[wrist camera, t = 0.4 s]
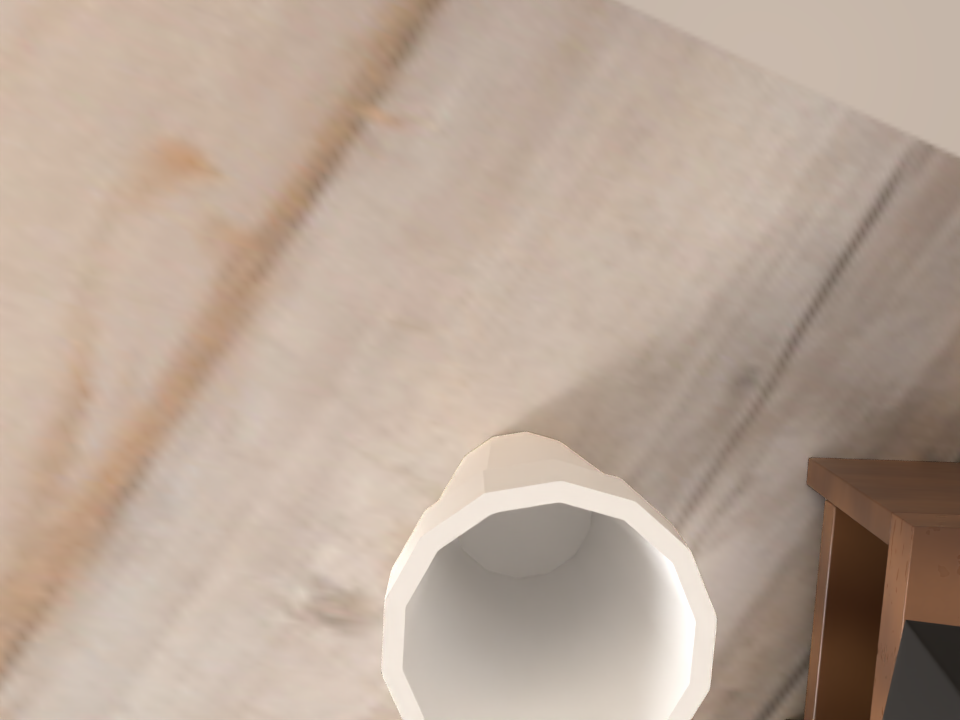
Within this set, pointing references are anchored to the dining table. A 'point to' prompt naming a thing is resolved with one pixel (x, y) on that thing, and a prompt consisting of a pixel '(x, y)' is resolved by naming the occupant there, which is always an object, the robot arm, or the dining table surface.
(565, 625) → the foam cup
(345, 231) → the dining table surface
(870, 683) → the shelf
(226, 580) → the dining table surface
